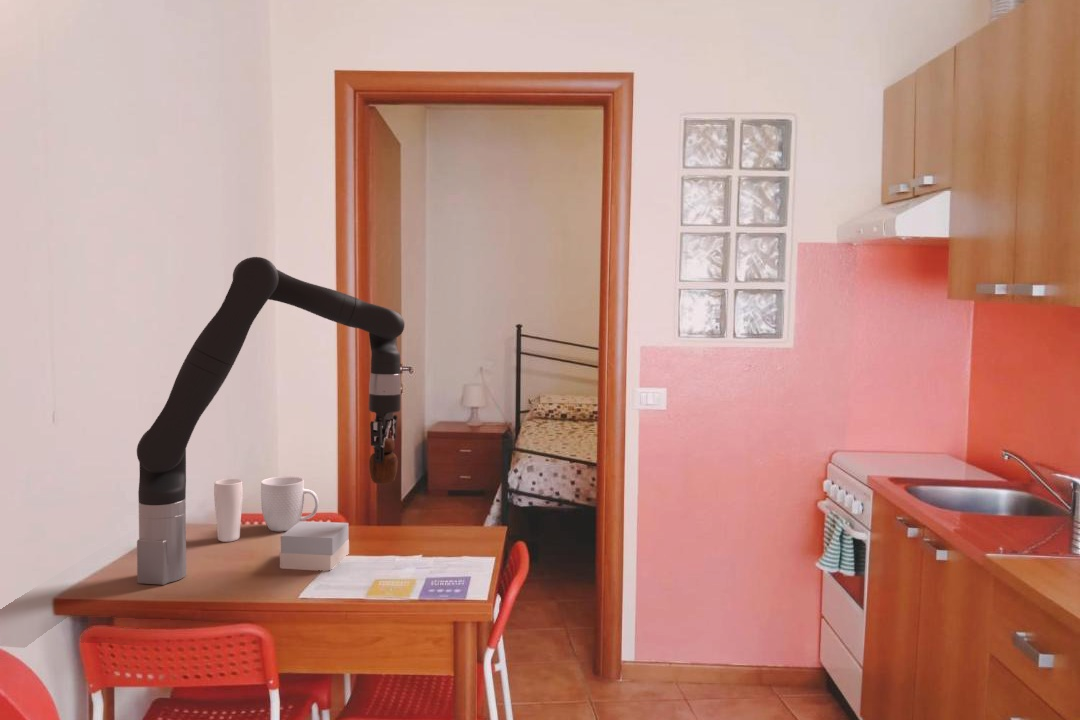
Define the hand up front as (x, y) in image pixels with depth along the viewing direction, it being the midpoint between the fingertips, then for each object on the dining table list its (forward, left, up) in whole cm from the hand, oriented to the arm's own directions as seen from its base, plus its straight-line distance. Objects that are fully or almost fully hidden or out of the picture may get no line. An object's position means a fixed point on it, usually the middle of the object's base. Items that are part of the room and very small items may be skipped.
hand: (383, 460), depth 187 cm
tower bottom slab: (-9, +13, -23) cm, 28 cm away
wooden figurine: (0, 0, -6) cm, 6 cm away
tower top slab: (-9, +13, -19) cm, 25 cm away
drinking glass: (+3, +41, -23) cm, 48 cm away
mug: (+15, +31, -23) cm, 42 cm away
